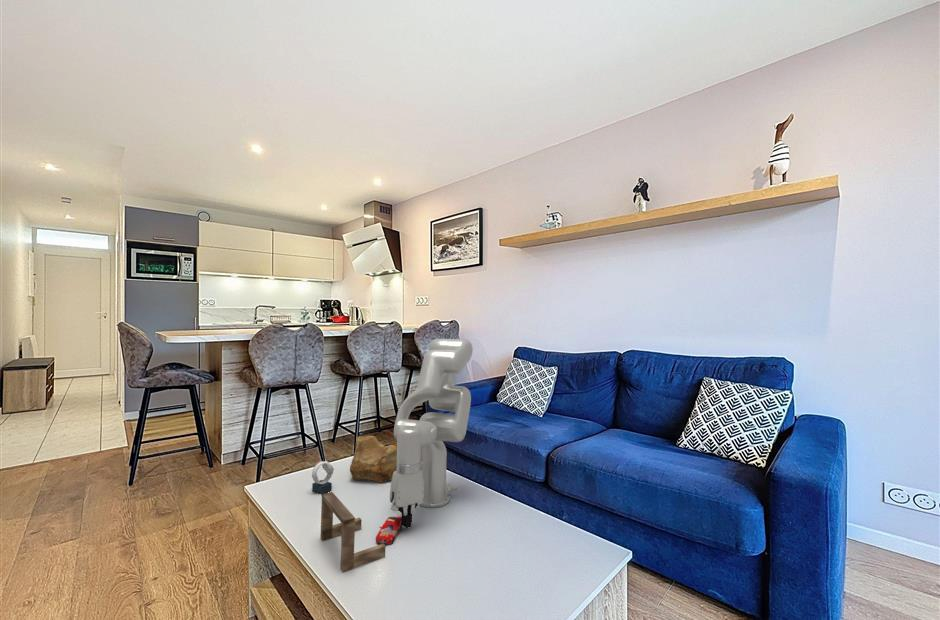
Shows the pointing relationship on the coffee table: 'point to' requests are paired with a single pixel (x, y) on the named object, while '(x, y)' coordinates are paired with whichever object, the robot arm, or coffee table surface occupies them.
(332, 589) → the coffee table surface
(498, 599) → the coffee table surface
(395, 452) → the rough brown rock
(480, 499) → the coffee table surface
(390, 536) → the race car
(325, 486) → the watch
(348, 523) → the walnut tunnel
